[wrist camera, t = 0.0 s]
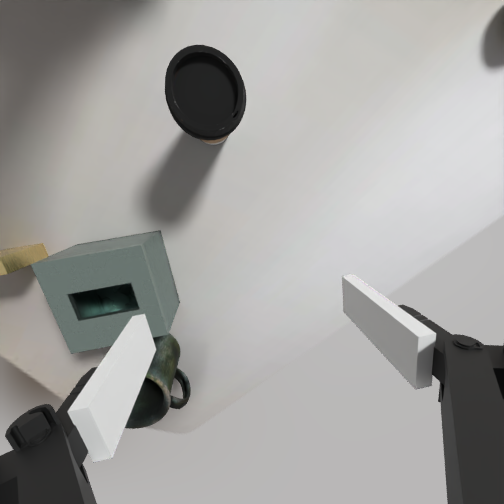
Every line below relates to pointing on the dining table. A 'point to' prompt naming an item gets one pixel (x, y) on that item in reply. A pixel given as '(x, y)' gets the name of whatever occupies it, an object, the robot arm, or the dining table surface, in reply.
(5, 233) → the dining table surface
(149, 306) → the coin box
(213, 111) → the coffee cup
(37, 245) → the tan rectangular block
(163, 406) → the mug
